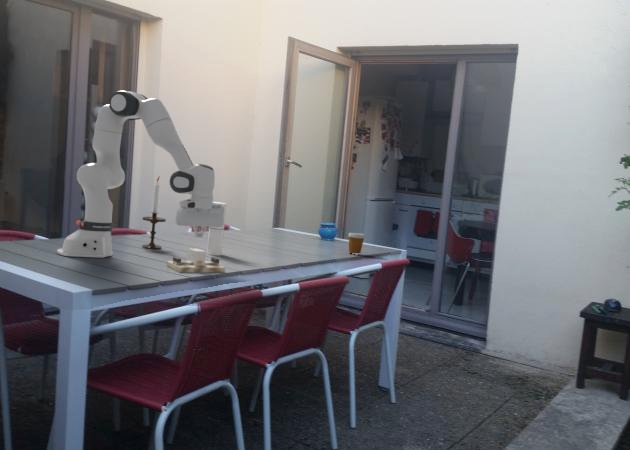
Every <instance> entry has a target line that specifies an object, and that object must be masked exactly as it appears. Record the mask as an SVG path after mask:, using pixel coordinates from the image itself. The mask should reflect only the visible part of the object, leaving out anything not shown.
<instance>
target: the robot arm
mask: <svg viewBox="0 0 630 450" xmlns="http://www.w3.org/2000/svg"><path fill="white" fill-rule="evenodd" d="M127 120H128V121H135V120H141V122H142V123H143V125H144V127H145V130H146V133H147V134H148V136H149V137H150V139H151V141H152V143H153V144H155V145H157V146H158V147H160V148H161V149H162V150H163V149H164V150H165V151H167V153H169V155H171V158H172V159H173V160H174V163H175V165H176V167H177V169H178V170H177V171H174V172H173V173H172V174H171V175H170V178H169V185H170V188H171V190H172V191H173V192H175V193H178V194H181V195H182V194H183V195H185V194H186V195H187V194H189V195H191V197H190V198H188V199H184V200H180V201H179V203H178V204H179V207H178V208H177V210H176V215H175V224H176V225H177V226H180V227H182V226H183V227H192V229H193V231H194V237H195V238H204V233H205V232H206V230H207V228H209V227H222V226H223V225H224V226H225V224H224V215H223V214H224V207H223V206H221V205H213V202H214V194H213V191H214V189H215V170H214V168H213V167H212V166H210V165H207V164H203V163H196V164H193V162H192V160H191V158H190V156H189V153H188V152H187V149H186V148H185V146H184V144H183V142H182V140H181V138H180V137H179V136H180V135H179V134H178V132H177V130H176V127H175V125H174V122H173V120H172V118H171V115H170V113H169V112H168V110H167V108H166V106H165V105H164V103H163V102H162V101H161V100H160V99H159V98H156V97H152V98H148V97H147V96H145V95H144V94H142V93H138V92H134V91H128V90H117V91H115V92H113V93H112V94H111V95H110V97H109V99H108V104H105V105H102V106H100V108H99V111H98V114H97V117H96V122H95V126H94V132H93V138H92V150H93V151H94V152H95V153H94V154H95V156H96V162H89V163H85V164H83V165H81V166H80V167H79V168H78V170H77V171H76V180H77V182H78V183H79V185H80V187H81V189H82V191H83V195H84V199H85V200H84V201H85V206H84V207H85V209H84V220H82V221H81V220H77V221H76V222H75V223H76V225H77V226H78V229H77V230H75V231H74V232H73V233H71V234H69V235H67V236H66V237H65V238H64V240H63V243H62V244H63V245H62V248H58V249H57V251H56V253H57V254H58V255H61V256H63V257H64V256H65V257H75V258H76V257H78V258H81V257H82V258H83V257H84V258H105V257H111V256H113V255H114V254H113V253H114V252H113V248H112V234H113V222H112V220H113V219H112V218H113V207H114V204H113V202H112V201H111V200H110V196H109V191H108V190H112V189H116V188H119V187H120V186H122V185H123V184H124V182H125V180H126V174H125V171H124V169H123V168H122V165H121V155H120V153H121V151H120V149H121V142H122V136H123V135H122V133H123V129H124V124H125V122H126V121H127ZM221 207H222V208H221ZM199 227H200V229H201V231H200V232H199V231H198V229H199Z"/></svg>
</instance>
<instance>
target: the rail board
mask: <svg viewBox="0 0 630 450" xmlns="http://www.w3.org/2000/svg"><path fill="white" fill-rule="evenodd" d="M166 267H168V268H170V269H172V270H174V271H176V272H178V273H225V272H226V267H225V266H223V265H220V258H218V257H216V256H213V257H210V260H205V266H194V265H193V263H192V262H190V261H188V260H182V258H180V257H178V256H172V260H166Z"/></svg>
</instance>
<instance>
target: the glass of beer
mask: <svg viewBox="0 0 630 450" xmlns="http://www.w3.org/2000/svg"><path fill="white" fill-rule="evenodd" d="M365 238H366V237H365V234H364V233H361V232H349V233H348V253H349V252H350V253H360V254H361V251H362V248H363V243H364V239H365Z"/></svg>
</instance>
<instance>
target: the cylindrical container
mask: <svg viewBox="0 0 630 450" xmlns="http://www.w3.org/2000/svg"><path fill="white" fill-rule="evenodd" d="M213 205H221V206H223V207H224V214H223V215H224V225H223V226H222V227H208V236H207V237H208V238H207V246H206V247H207V249H206V254H207V255H209V254H210V256H222V254H223V243H224V233H225V222H226V213H227V203H226V202H221V201H220V202H219V201H213ZM221 208H222V207H221Z"/></svg>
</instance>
